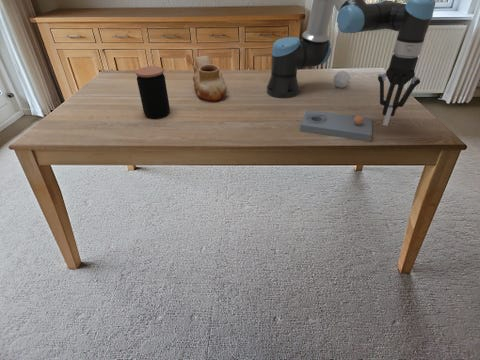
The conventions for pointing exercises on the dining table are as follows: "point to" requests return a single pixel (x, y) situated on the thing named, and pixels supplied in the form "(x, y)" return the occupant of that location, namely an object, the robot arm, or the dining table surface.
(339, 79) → the geometric ball
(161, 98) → the coffee jar
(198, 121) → the dining table surface
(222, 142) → the dining table surface
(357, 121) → the ball
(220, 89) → the ceramic vessel
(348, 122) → the plate
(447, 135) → the dining table surface
